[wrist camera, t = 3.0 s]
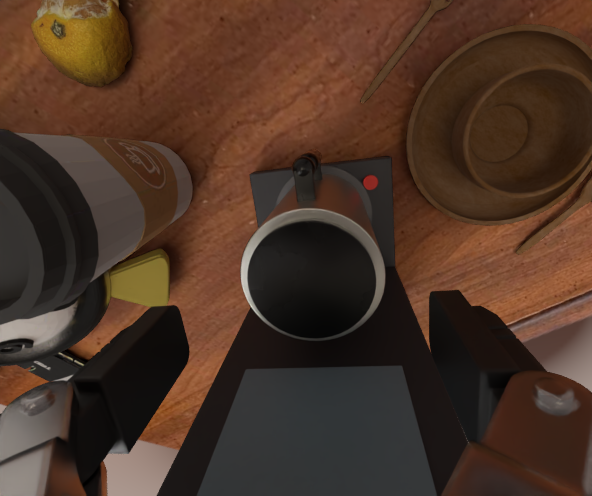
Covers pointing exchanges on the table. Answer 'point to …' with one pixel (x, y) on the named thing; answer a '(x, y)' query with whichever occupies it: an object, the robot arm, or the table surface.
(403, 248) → the table surface
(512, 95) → the place setting
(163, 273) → the alarm clock
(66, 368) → the computer memory module
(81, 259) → the coffee cup
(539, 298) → the table surface
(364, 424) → the coffee maker
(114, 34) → the fruit
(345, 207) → the steel travel mug
